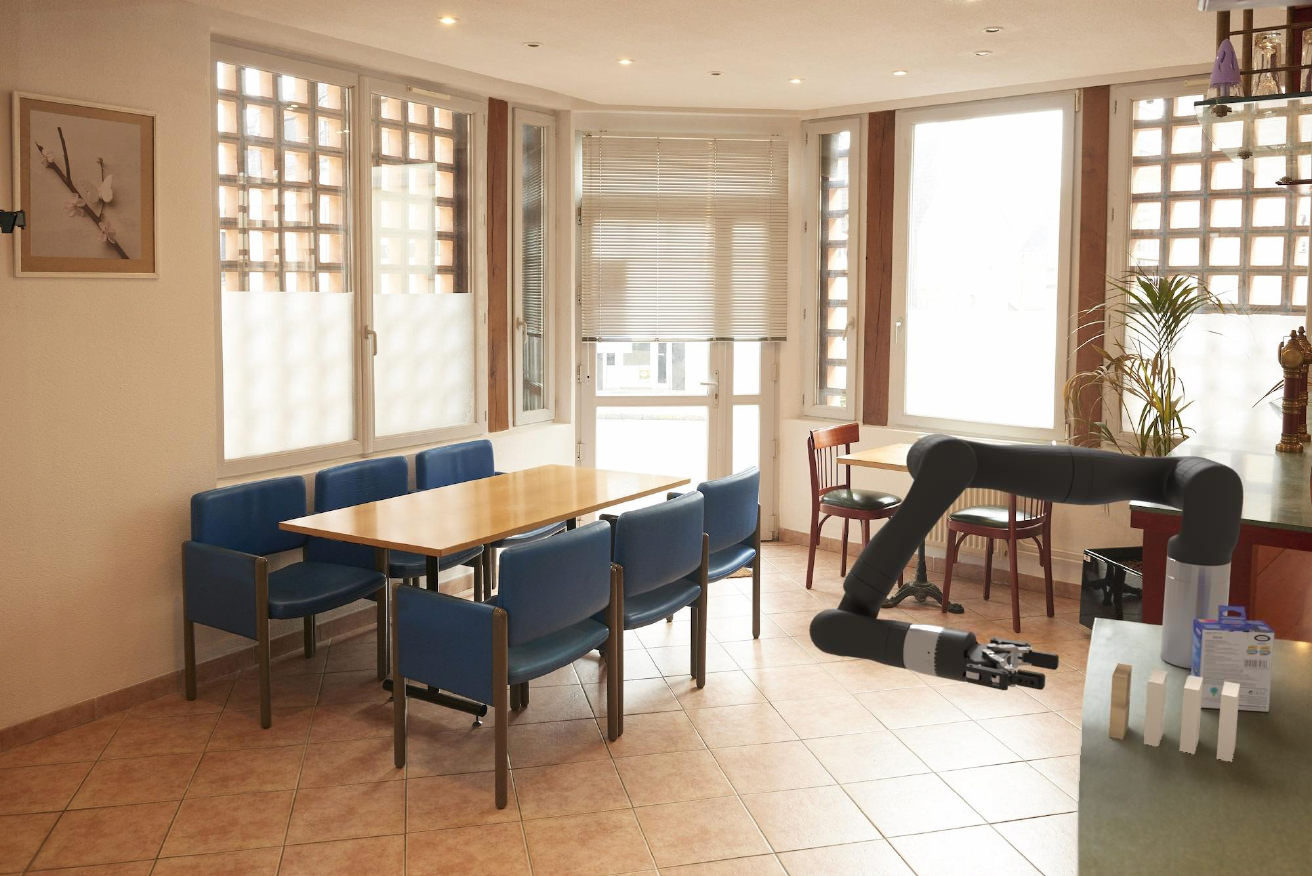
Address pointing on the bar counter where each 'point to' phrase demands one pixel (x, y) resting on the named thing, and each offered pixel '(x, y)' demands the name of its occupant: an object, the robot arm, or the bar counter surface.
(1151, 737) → the ivory domino
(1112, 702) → the oak domino
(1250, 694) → the ink cartridge box
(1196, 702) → the ivory domino
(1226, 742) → the ivory domino
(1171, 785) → the bar counter surface
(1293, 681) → the bar counter surface
